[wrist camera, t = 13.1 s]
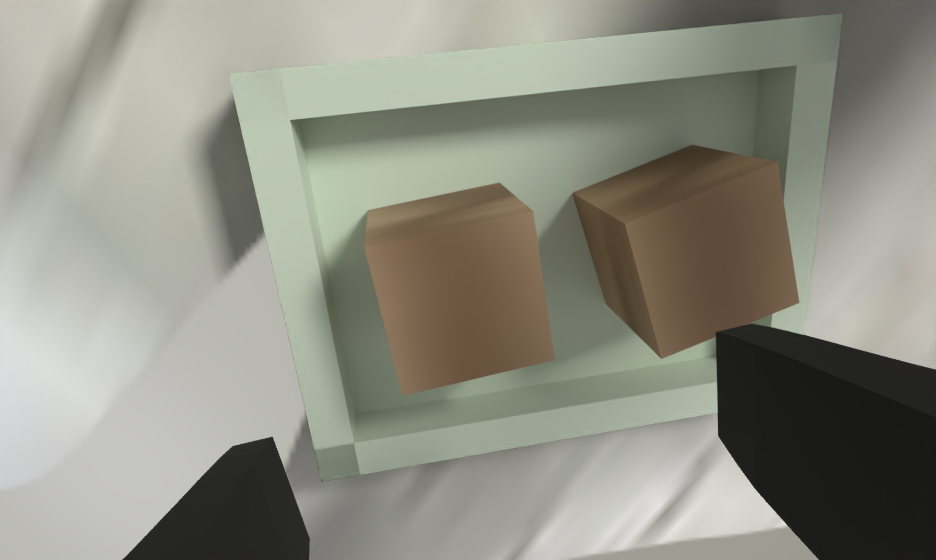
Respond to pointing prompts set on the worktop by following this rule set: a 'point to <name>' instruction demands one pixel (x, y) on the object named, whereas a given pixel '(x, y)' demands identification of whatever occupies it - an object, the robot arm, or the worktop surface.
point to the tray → (540, 188)
